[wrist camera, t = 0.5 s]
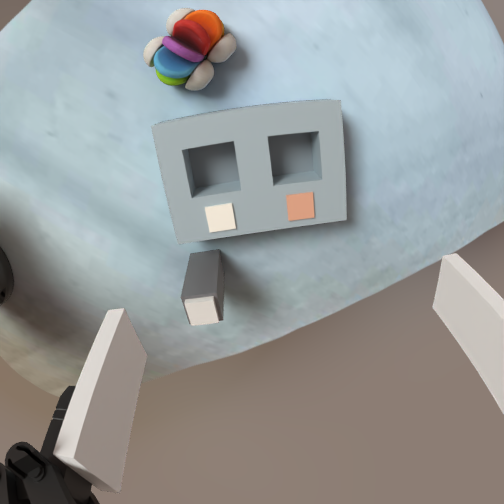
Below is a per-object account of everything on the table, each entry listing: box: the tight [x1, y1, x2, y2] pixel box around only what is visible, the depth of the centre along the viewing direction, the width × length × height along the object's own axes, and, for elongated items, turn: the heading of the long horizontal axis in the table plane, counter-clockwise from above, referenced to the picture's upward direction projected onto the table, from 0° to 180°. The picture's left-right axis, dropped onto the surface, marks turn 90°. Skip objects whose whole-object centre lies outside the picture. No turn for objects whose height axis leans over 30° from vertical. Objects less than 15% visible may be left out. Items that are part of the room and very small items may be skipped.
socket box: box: [151, 99, 347, 244], centre depth 35 cm, size 20×14×5 cm
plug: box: [181, 249, 224, 326], centre depth 39 cm, size 4×4×11 cm
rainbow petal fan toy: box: [143, 8, 236, 90], centre depth 27 cm, size 8×10×7 cm
